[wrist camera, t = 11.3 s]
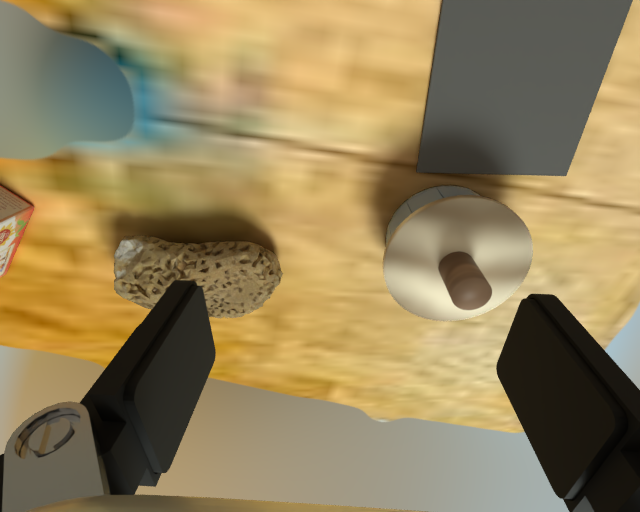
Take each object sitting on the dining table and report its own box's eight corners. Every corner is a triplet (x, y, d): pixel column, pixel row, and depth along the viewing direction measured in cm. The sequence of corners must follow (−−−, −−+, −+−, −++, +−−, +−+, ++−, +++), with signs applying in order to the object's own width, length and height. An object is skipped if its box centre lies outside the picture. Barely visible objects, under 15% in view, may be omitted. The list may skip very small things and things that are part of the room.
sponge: (143, 283, 50) (269, 333, 48) (100, 305, 43) (246, 366, 41) (156, 197, 46) (294, 249, 44) (110, 205, 38) (274, 268, 36)
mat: (443, -9, 30) (444, -10, 30) (632, -9, 29) (636, -10, 29) (416, 171, 38) (416, 172, 38) (564, 174, 37) (566, 175, 37)
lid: (390, 193, 33) (399, 218, 28) (549, 196, 33) (588, 223, 27) (377, 313, 41) (382, 350, 36) (505, 318, 40) (529, 356, 35)
